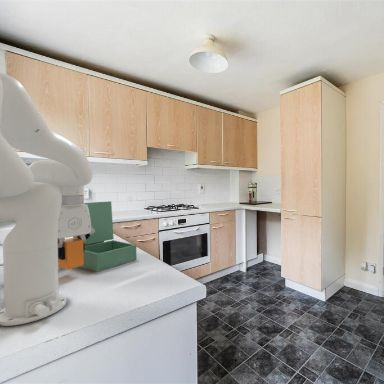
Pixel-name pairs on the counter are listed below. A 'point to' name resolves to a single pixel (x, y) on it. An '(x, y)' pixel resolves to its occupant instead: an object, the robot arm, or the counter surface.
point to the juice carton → (72, 254)
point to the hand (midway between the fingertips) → (71, 256)
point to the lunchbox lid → (100, 222)
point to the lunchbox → (108, 255)
